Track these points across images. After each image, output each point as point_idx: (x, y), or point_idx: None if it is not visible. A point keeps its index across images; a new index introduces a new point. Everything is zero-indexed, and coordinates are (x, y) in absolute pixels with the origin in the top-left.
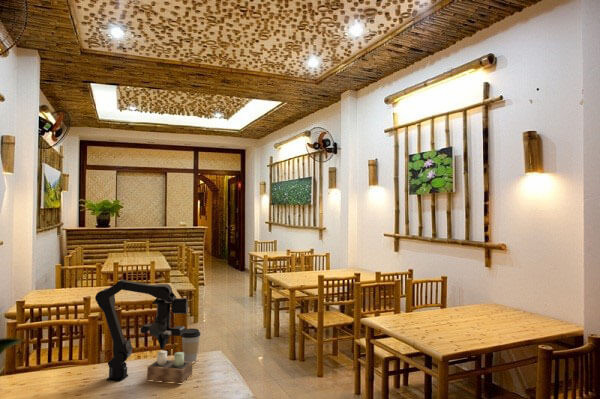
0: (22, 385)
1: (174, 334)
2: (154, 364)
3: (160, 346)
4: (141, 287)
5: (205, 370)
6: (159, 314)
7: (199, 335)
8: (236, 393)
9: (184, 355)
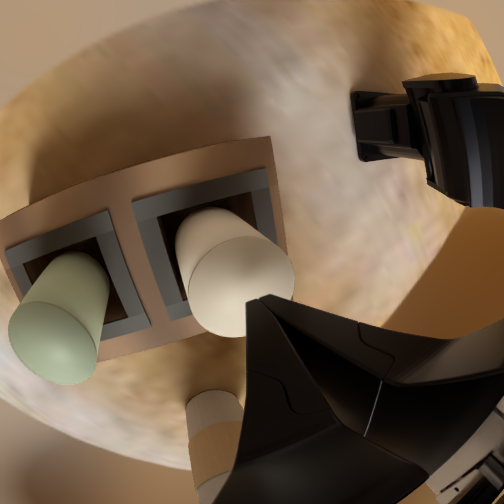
0: (479, 53)
1: None
2: (252, 197)
3: (289, 305)
4: None
5: (81, 383)
6: None
7: None
8: None
9: (230, 414)
